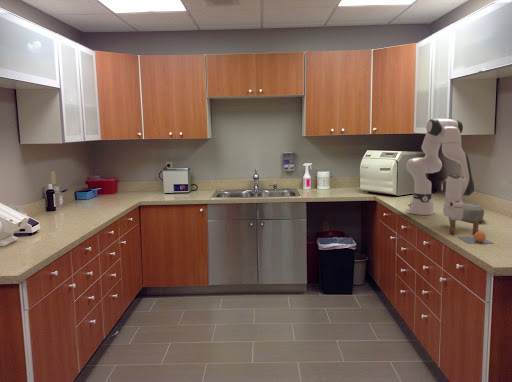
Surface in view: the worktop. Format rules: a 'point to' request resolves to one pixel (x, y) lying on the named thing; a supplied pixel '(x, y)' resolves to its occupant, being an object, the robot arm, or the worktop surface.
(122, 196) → the worktop surface
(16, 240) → the worktop surface
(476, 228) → the post
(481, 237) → the ball
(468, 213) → the stone
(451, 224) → the post
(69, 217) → the worktop surface
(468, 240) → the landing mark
